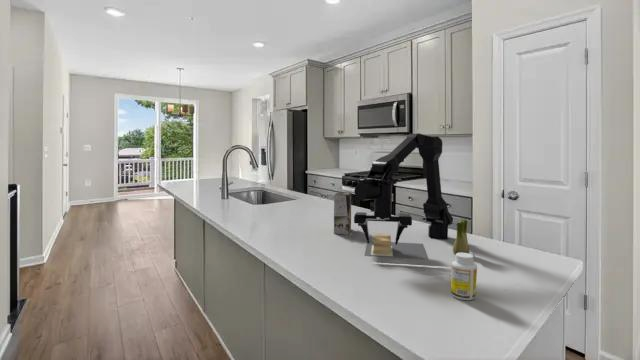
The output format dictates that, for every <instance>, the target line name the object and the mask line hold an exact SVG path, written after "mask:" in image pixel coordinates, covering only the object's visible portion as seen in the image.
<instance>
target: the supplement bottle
mask: <svg viewBox="0 0 640 360" xmlns="http://www.w3.org/2000/svg"><path fill="white" fill-rule="evenodd" d="M474 257H475V256H474V255H473V254H472V253H470V252H469V253H456V255H455V257H454V258H455V260H453V261H452V263H451V275H450V277H451V282H450V286H451V287H450V295H452V297H453V298H455V299H458V300H460V301H472V300H474V299H475V298H476V295H477V294H476V293H477V277H478V275H477V273H478V266H477V263H475V262H474V261H475V260H474Z"/></svg>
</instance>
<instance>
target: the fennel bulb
mask: <svg viewBox="0 0 640 360" xmlns="http://www.w3.org/2000/svg"><path fill="white" fill-rule="evenodd" d="M467 228H468V220H467V219H460V221H457V222H456V238H455V240H454V243H453V247H452V252H453V254H454V255H455V256H456V253H469V254H470V245H469V241H468V234H467V231H468V230H467Z"/></svg>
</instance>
